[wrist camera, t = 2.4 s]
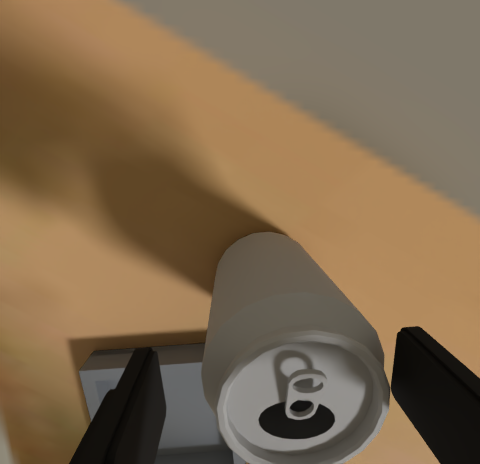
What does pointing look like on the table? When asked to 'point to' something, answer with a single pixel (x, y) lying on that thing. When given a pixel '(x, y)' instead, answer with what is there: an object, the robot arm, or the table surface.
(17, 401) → the table surface
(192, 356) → the tray
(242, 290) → the can
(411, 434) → the table surface
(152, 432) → the robot arm
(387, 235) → the table surface
